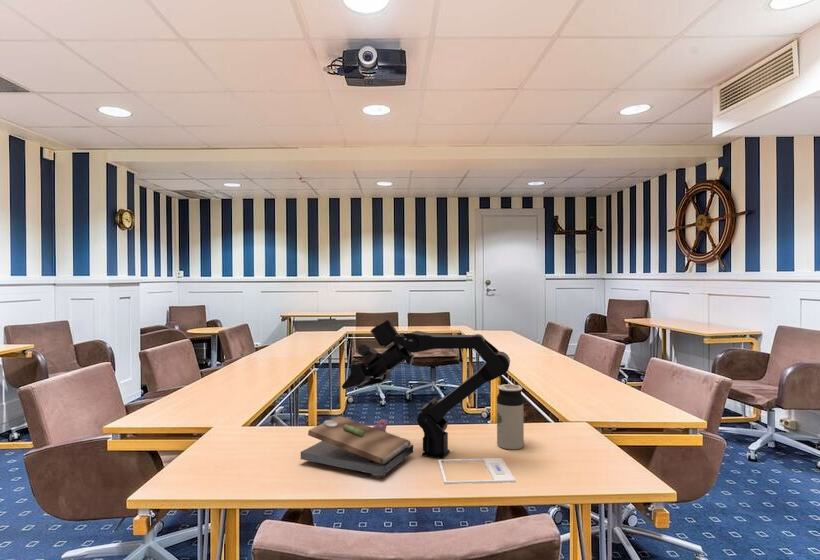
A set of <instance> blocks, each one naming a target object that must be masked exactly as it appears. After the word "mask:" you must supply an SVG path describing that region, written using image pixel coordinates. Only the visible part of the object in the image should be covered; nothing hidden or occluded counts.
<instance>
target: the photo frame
mask: <svg viewBox="0 0 820 560" xmlns="http://www.w3.org/2000/svg"><path fill="white" fill-rule="evenodd" d="M437 461H438V467H439V470H440V474H441V477H443V478H442V481H443V484H444V485H460V484H459V483H472V484H498V483H499V484H503V482H504V484H505V482H506V484H507V482H510V483H517V480H516V478H515V477H514V475H513V474H512V472H511V471H510V468H509V467H508V466H507V464H506V463H505V461H504V459H503V458H502V457H501V458H500V457H499V458H498V457H497V458H496V457H495V458H493V457H491V458H460V459H459V458H457V459H456V458H455V459H451V458H450V459H438V460H437ZM442 462H443V463H462V462H463V463H464V462H465V463H466V462H471V463H472V462H475V463H476V462H483V463H484V465H485V467H486V469H487V471H488V473H489V474H490V477H491V478H492V479H478V480H477V479H472V480H470V479H469V480H447V477H446V475H445V471H444V467H443V463H442Z"/></svg>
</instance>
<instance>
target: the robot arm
mask: <svg viewBox="0 0 820 560" xmlns="http://www.w3.org/2000/svg"><path fill="white" fill-rule="evenodd" d="M370 333H371V334H372V336H373V337H374V339H375V341H376V342H377V344H378V345H379V347H381V348H382V347H383V348H387V349H386V350H384V351H383V352H378V351H377V350H376V349H375V348H374V347H372V346H371V345H370V344H369V343H362V344H360V345H358V346H357V351H356V353H357V354H358V355H360V356H361V357H363V359H364V362H360V361H358V362H357V361H354V362H353V363H351V364H350V365H349V371H350V374H349V375H348V377H347V379H346V380H345V381H344V382H343V384H342V385H341V389H342V390H346V389H350V388H354V387H355V388H356V387H357V388H358V389H359V388H365V387H367V386H368V387H369V386H373V385H377V384H383V383H386V382H388V381H389V380H390V378H391V373H390V372H393V371H394V370H395V368H396V367H398V366H399V365H400V364H402V363H403V362H404V361H406V363H407V365H411V364H413V363H414V357H415V354H414V353H420V352H425V351H429V350H433V349H448V350H449V349H461V350H462V349H463V350H464V349H469V350H470V349H471V350H473V349H474V350H475V352H476V353H477V354H478V355H479V356H480V358H481V359H482V360H483V361H484V364H483V365H481V367H480V368H479V369H478V371H475V373H473V375H471V376H470V377H468V378H467V379H466V380H465V381H463V382H462V383H460V385H458V386H457V387H456V388H455V389H453V390H452V391H450V392H449V393H448V394H446V395H445V396H444V397H443V398H440V399H438V400H437V398H436V397H435V396H434V397H433V398H432V399H431V400H430V401H429V402H427V403H425V404H424V405H423V406H422V407H421V408H420V412H419V414H418V415H417V423H418V426H419V427H420V428H421V429H422V431H423V437H422V453H421V456H423V457H428V458H435V459H438V460H444V458H445V457H446V456H447V455H449V453H451V450H450V449H448V448H449V437H448V436H449V435H448V434H449V433H448V432H447V431H446V430H447V427H448V426H449V422H448V420H447V419H446V418H444V417H445V416H446V415H447V414H448V413H449V412H450V411H451V410H452V409H453V408H454V407H456V406H457V405H458V404H460V403H461V402H462V401H464V400H465V399H466V398H467V397H469V396H470V395H471V394H473V393H474V392H475V391H477V390H478V389H479V388H481V387H482V386H483V385H484V384H486V383H489V382H491V381H492V380H495V379H498V378H499V377H501V376H502V375H505V374H506V373H507V372H508V370H509V369H510V365H511V359H510V357H509V355H508V354H507V353H506V352H504V351H501V350H500V351H499V350H498V348H497V347H495V346H494V345H493V344H491V343H490V342H489V341H488V340H487V339H486V338H485V337H484V336H483V335H482V334H480V333H476V334H435V333H434V334H433V333H429V332H425V331H420V330H415V331H411V332H409V333H404V332H402V333H401V332H400V333H399V332H398V331H397V329H396V328H395V326H394V324H393V322H392V321H391V319H386V320H385V321H383V322H382V323H380V324H378V325H376V326H373V328H372V329H371V330H370ZM392 344H393V345H392ZM389 346H390V347H389Z"/></svg>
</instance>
